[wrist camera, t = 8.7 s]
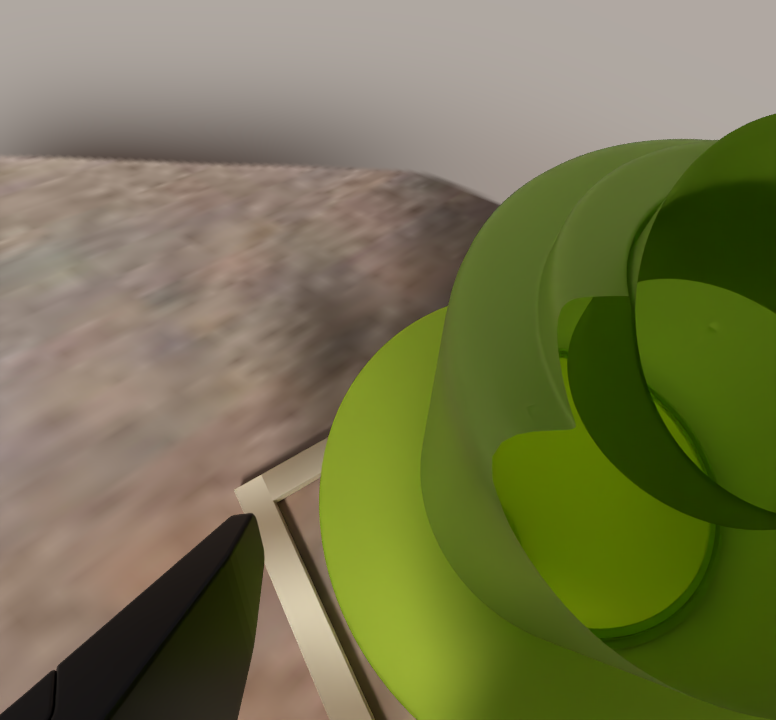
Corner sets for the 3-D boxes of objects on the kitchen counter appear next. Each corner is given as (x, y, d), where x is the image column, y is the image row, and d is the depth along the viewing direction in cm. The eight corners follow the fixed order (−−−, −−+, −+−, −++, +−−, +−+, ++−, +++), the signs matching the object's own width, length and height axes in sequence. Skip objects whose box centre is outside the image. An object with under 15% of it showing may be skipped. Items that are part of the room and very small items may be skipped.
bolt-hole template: (854, 835, 13) (884, 851, 12) (533, 1196, 10) (544, 1246, 10) (478, 357, 21) (481, 348, 20) (238, 492, 18) (231, 488, 17)
